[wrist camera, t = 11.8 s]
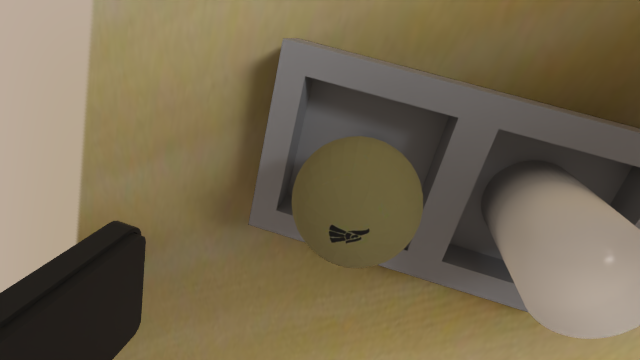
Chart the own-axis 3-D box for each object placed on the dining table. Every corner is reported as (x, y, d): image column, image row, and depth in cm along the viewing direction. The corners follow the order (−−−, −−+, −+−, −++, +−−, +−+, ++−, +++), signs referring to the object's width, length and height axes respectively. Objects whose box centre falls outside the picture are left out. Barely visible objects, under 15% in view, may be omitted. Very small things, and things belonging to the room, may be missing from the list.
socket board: (676, 138, 20) (720, 154, 17) (575, 300, 24) (597, 333, 22) (297, 38, 22) (283, 38, 19) (264, 204, 26) (248, 224, 23)
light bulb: (349, 210, 25) (320, 314, 15) (306, 135, 23) (246, 199, 14) (431, 174, 23) (454, 267, 14) (389, 90, 22) (382, 130, 12)
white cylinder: (597, 175, 21) (703, 250, 14) (553, 253, 23) (626, 354, 16) (502, 149, 22) (557, 207, 14) (467, 227, 23) (499, 314, 16)
